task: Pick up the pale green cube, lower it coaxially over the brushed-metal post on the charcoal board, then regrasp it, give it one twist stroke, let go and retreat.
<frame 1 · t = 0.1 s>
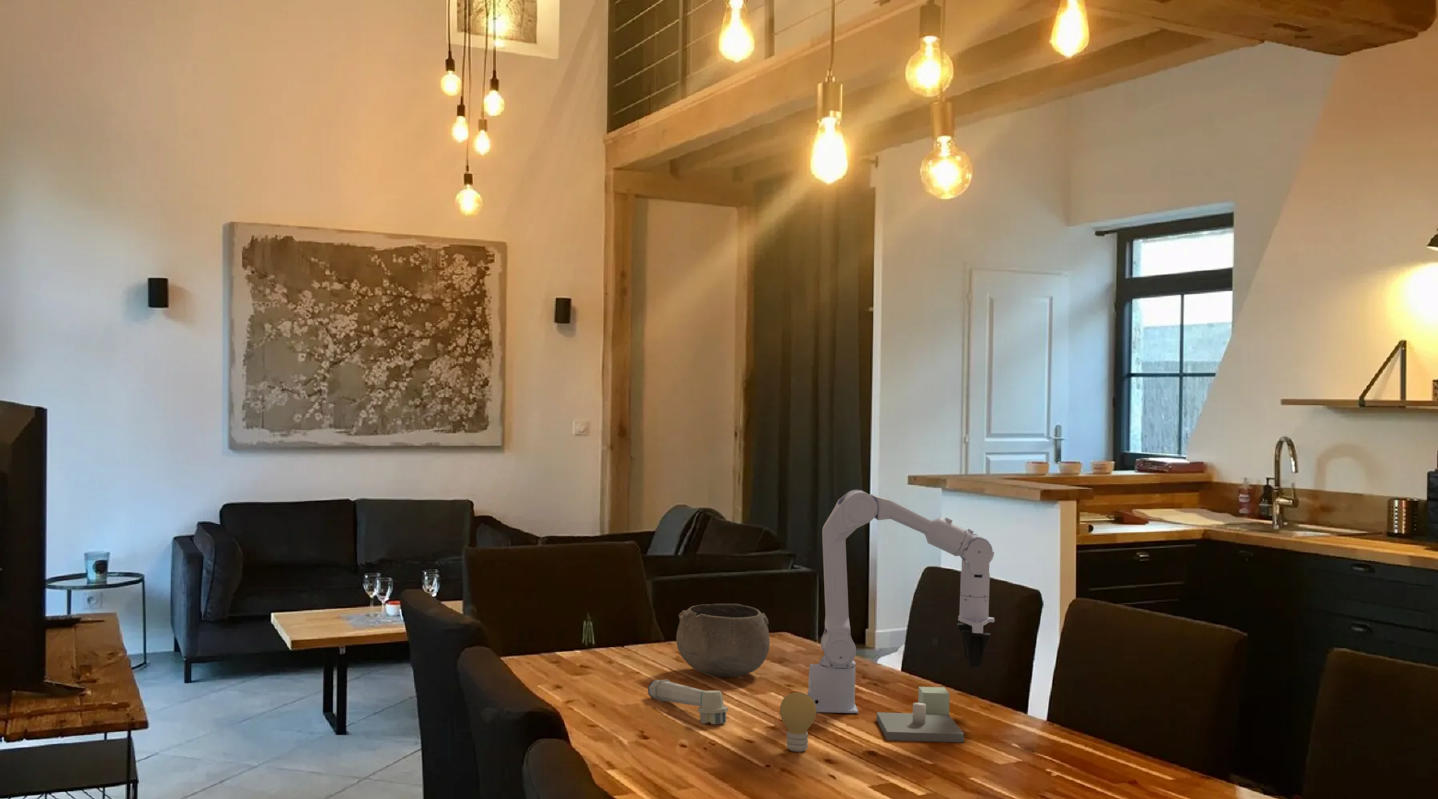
hand: (972, 663, 231), 10 cm above the table, fingers open, 7 cm apart
toothbrush head: (686, 713, 226), on the table
pale green cube: (933, 715, 228), on the table
light bulb: (796, 751, 201), on the table
post board: (918, 730, 216), on the table
clay pot: (721, 675, 259), on the table
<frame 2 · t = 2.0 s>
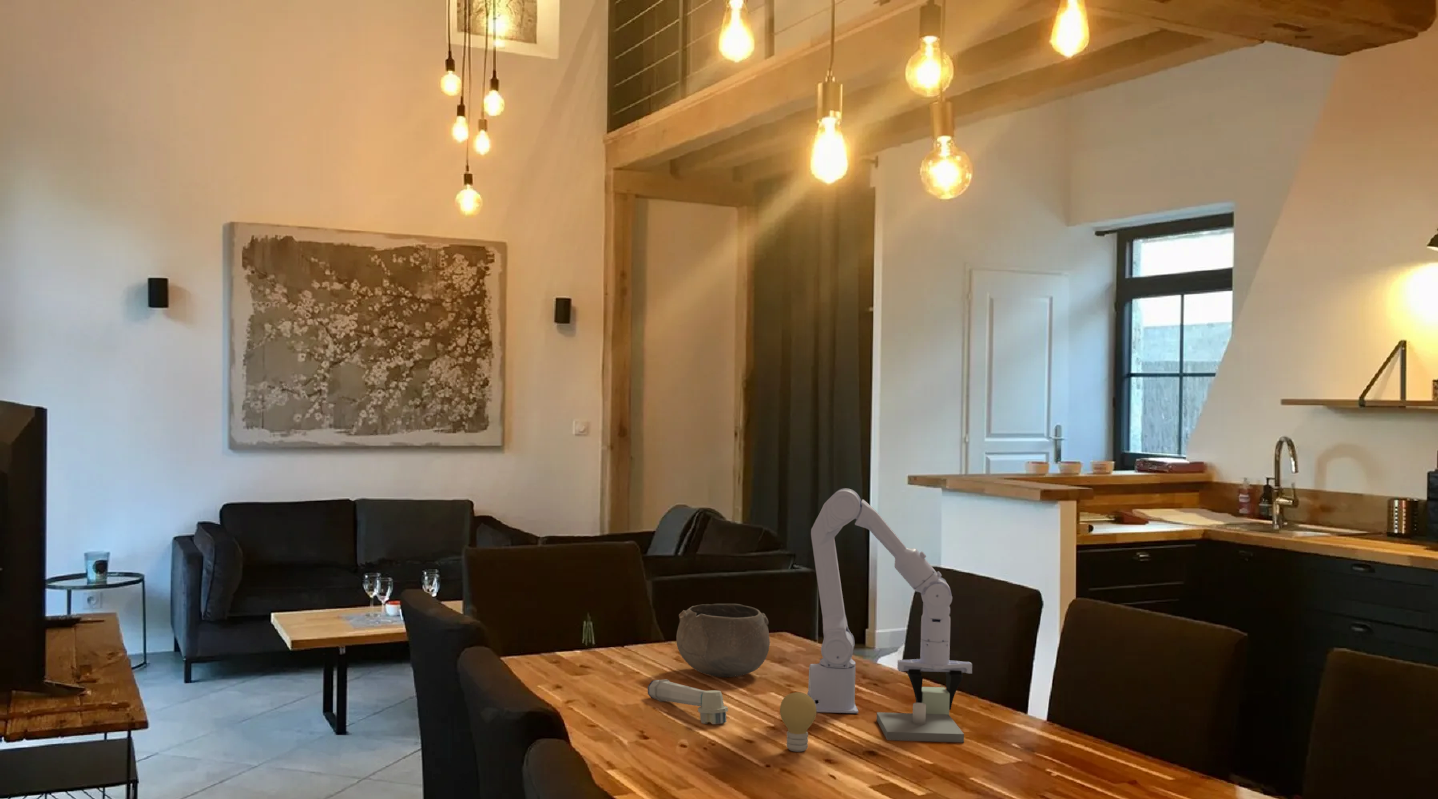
hand: (933, 708, 228), 1 cm above the table, fingers closed on pale green cube, 5 cm apart
pale green cube: (933, 715, 228), on the table, touching gripper
everything else where it was.
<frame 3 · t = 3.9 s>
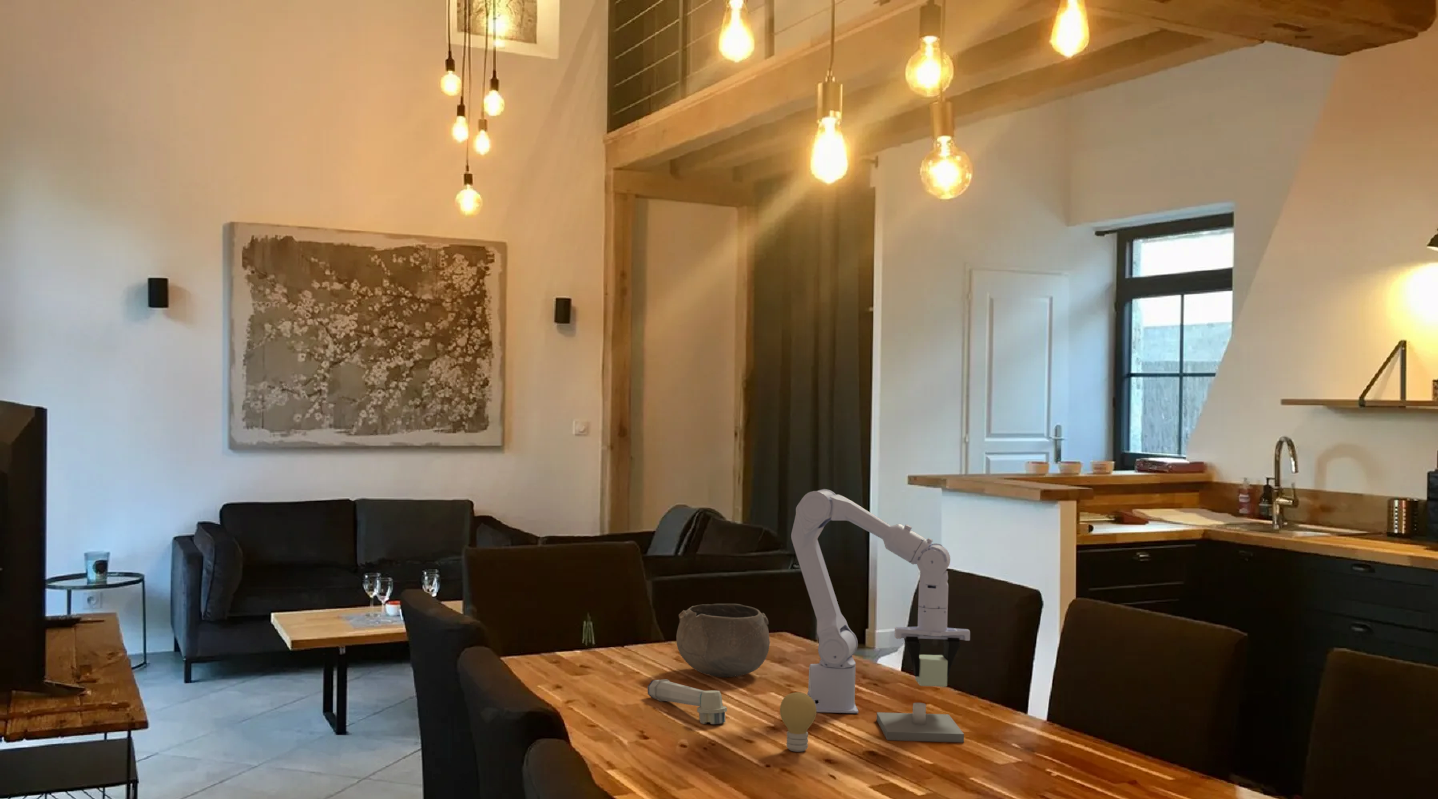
hand: (931, 675, 226), 8 cm above the table, fingers closed on pale green cube, 5 cm apart
pale green cube: (930, 683, 226), point 7 cm above the table, touching gripper
everything else where it was.
when the fingers open (4 cm above the table, at t = 6.2 s): pale green cube stays where it is, resting on post board.
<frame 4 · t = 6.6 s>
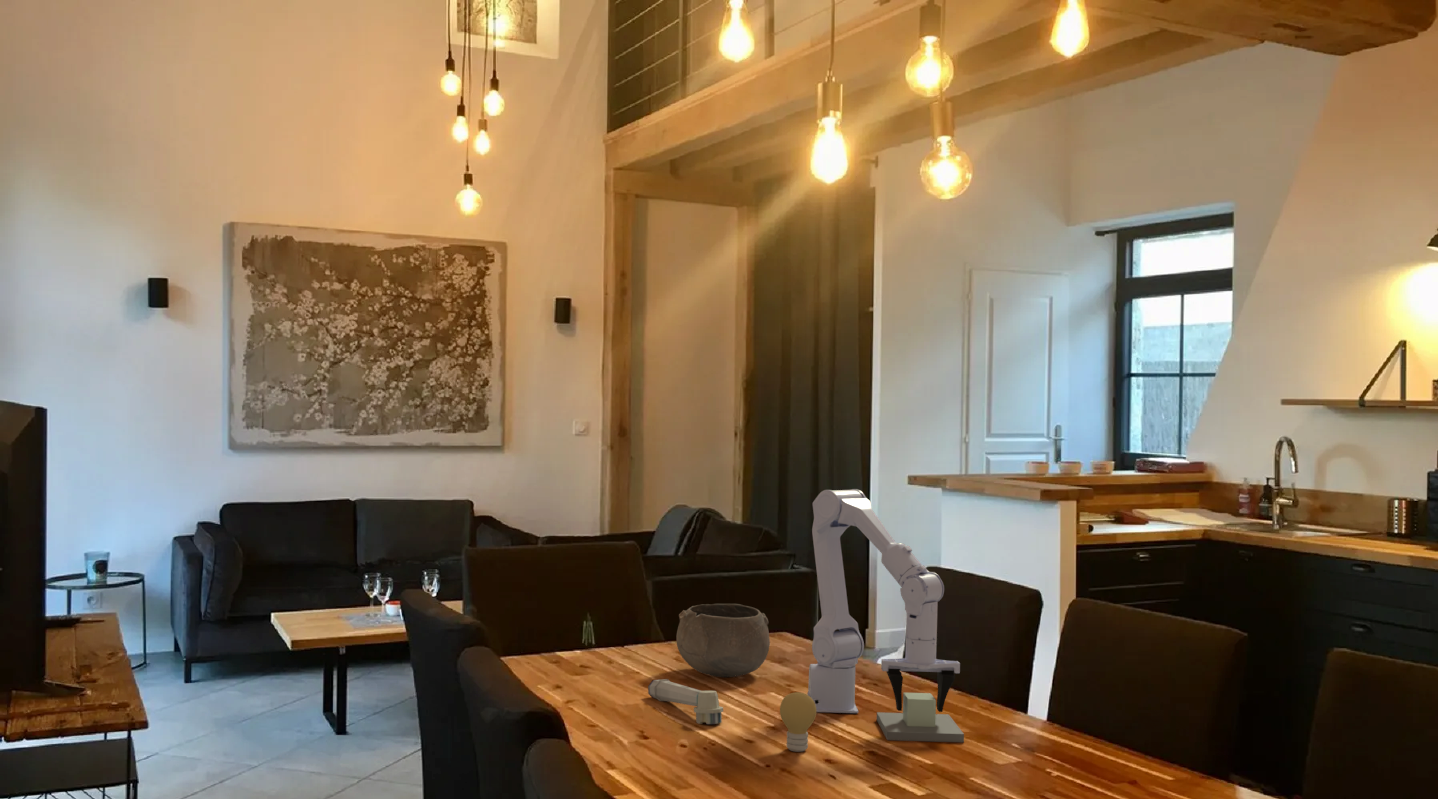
hand: (919, 710, 216), 4 cm above the table, fingers open, 7 cm apart
pale green cube: (918, 722, 216), point 1 cm above the table, touching post board
everything else where it was.
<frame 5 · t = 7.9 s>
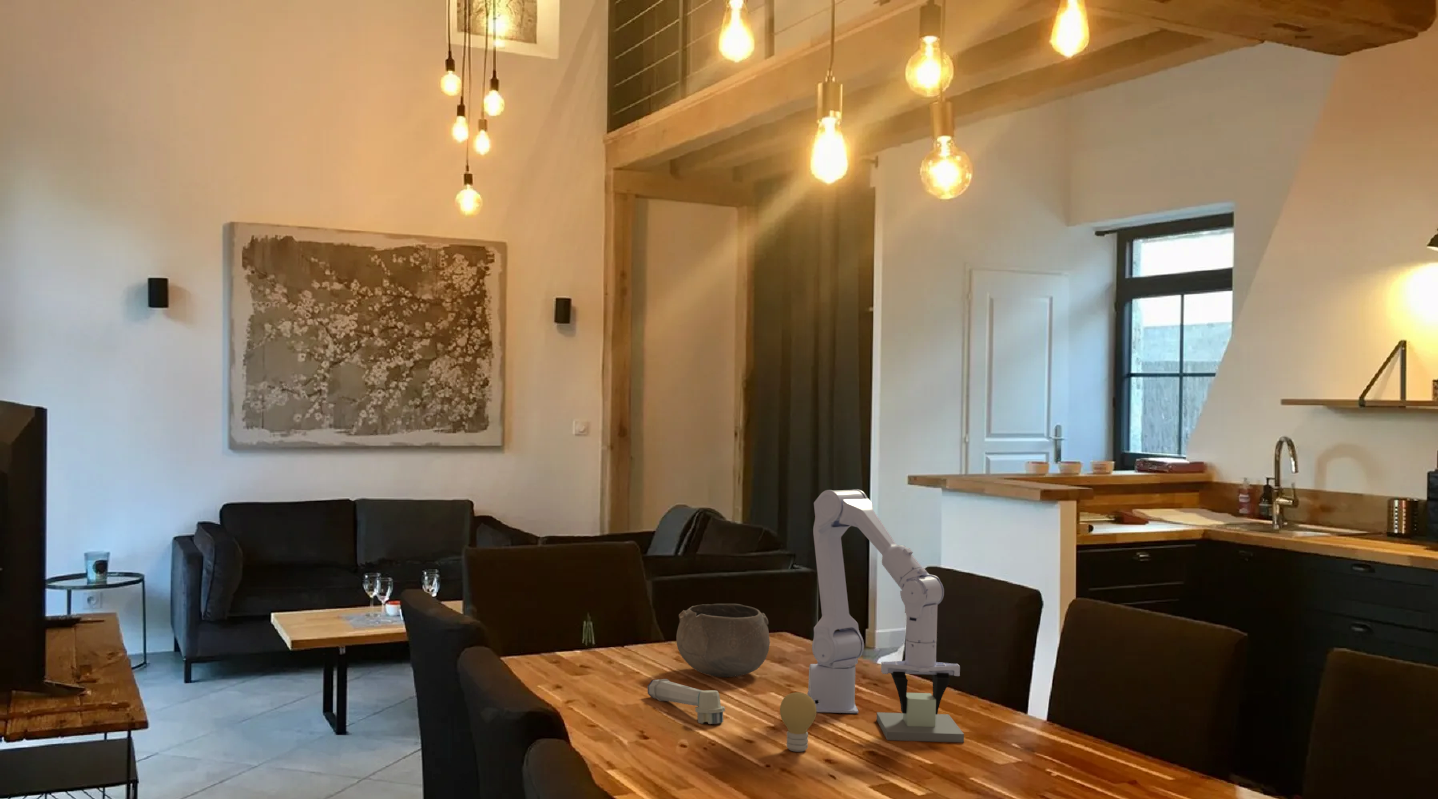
hand: (919, 712, 216), 3 cm above the table, fingers closed on pale green cube, 5 cm apart
pale green cube: (918, 722, 216), point 2 cm above the table, touching gripper, post board
everything else where it was.
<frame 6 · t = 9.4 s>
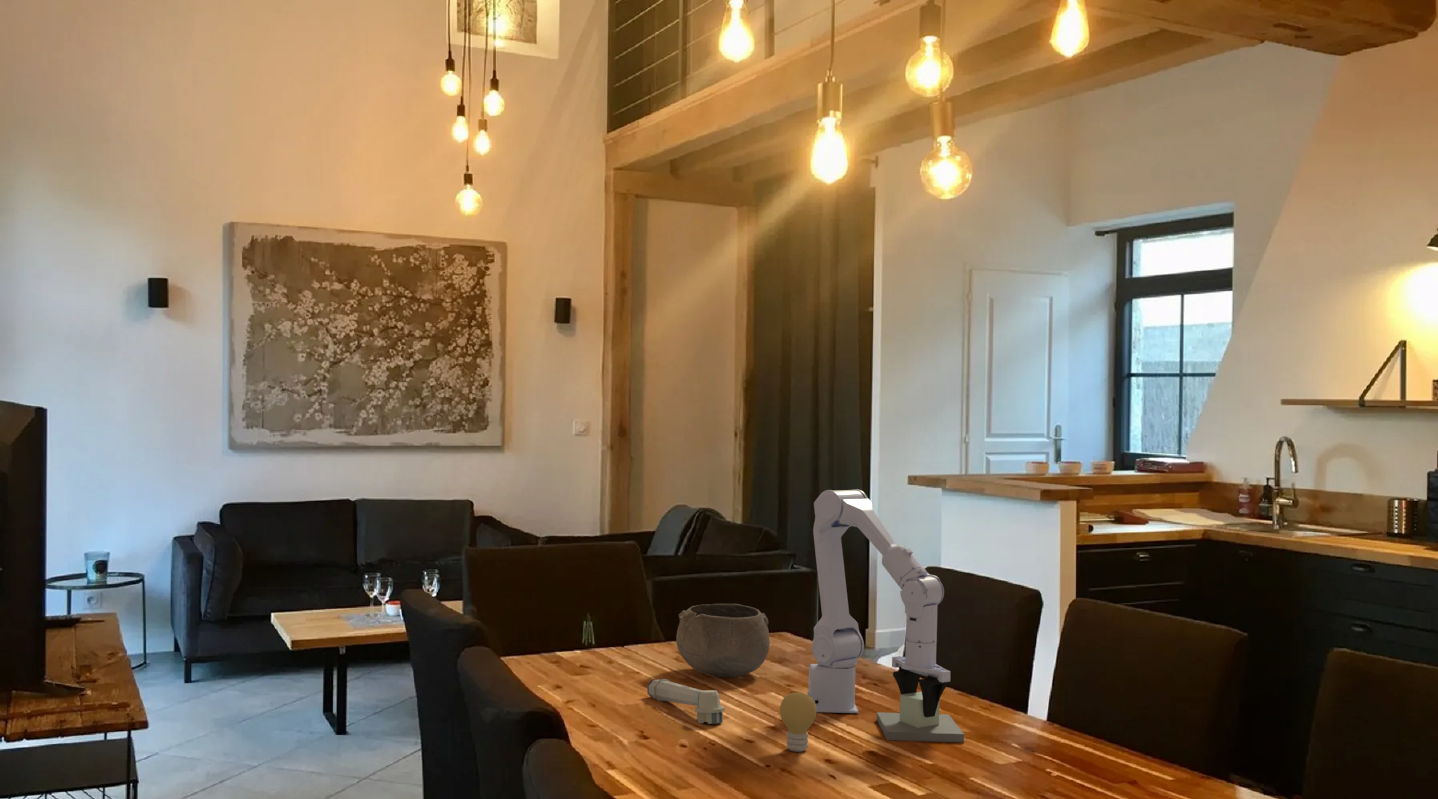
hand: (919, 712, 216), 3 cm above the table, fingers closed on pale green cube, 5 cm apart
pale green cube: (919, 722, 216), point 2 cm above the table, touching gripper
everything else where it was.
when the fingers open (3 cm above the table, at t = 10.0 s): pale green cube stays where it is, resting on post board.
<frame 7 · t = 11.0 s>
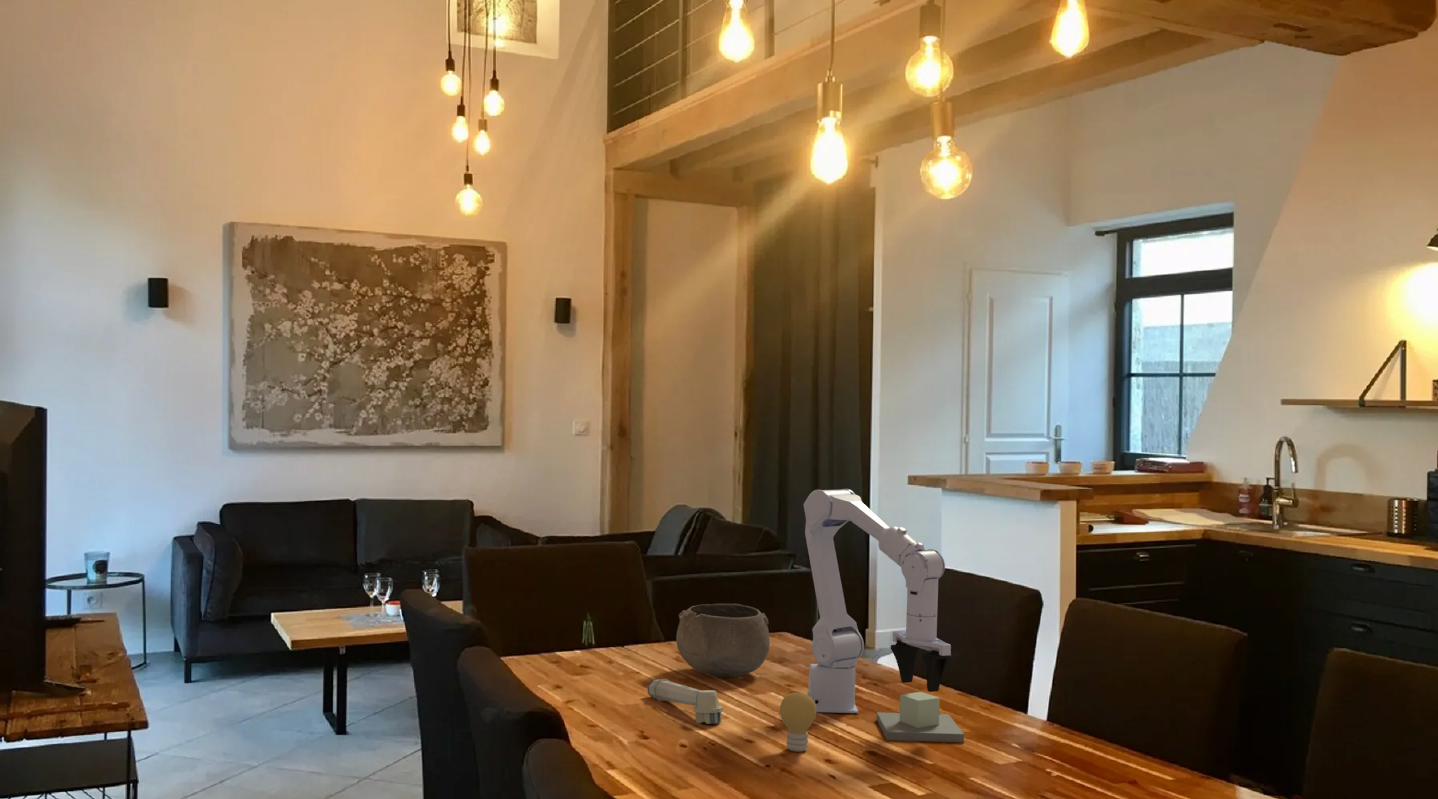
hand: (919, 686, 216), 8 cm above the table, fingers open, 7 cm apart
pale green cube: (919, 722, 216), point 1 cm above the table, touching post board
everything else where it was.
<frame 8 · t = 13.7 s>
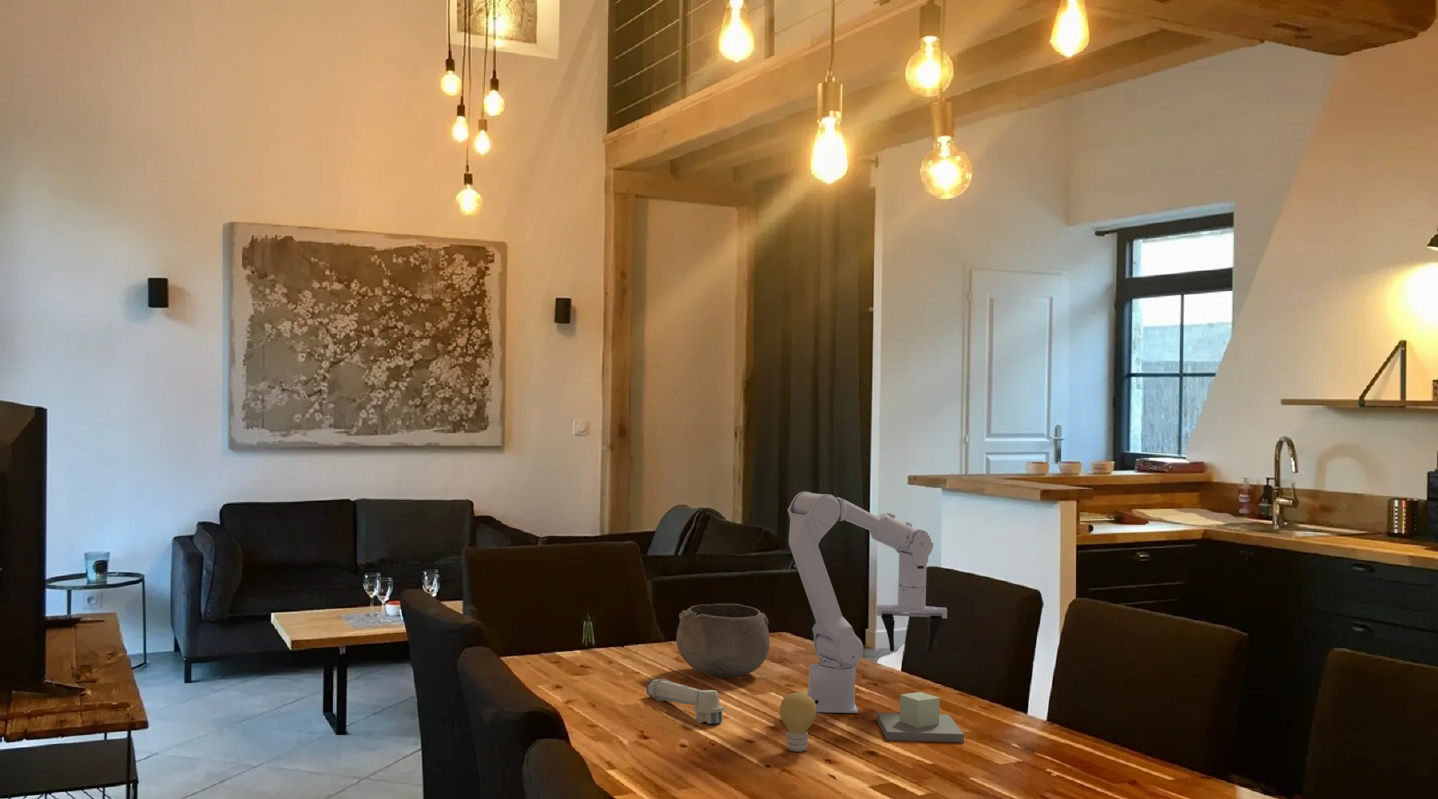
hand: (910, 651, 239), 10 cm above the table, fingers open, 7 cm apart
nothing on the table moved.
at the end: pale green cube 0.0 cm off-centre on the post board, point 1.5 cm above the post board's base; pale green cube tilted 0°; the gripper is holding nothing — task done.
